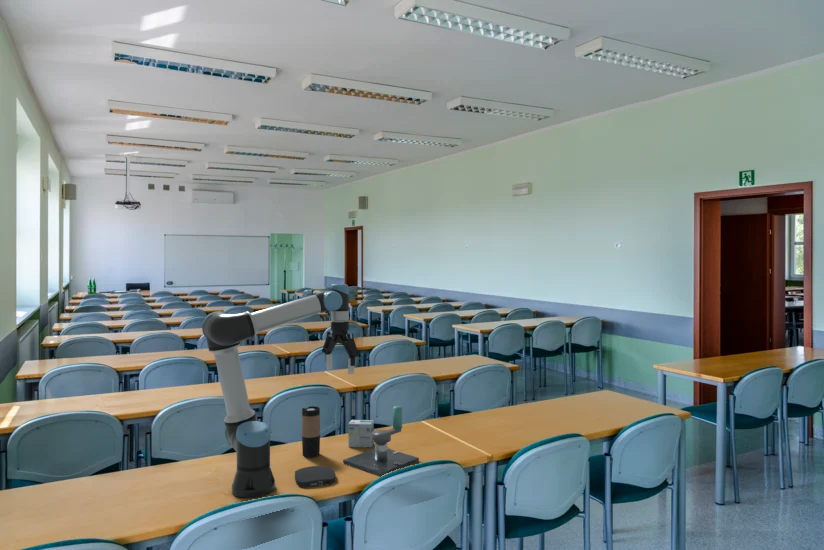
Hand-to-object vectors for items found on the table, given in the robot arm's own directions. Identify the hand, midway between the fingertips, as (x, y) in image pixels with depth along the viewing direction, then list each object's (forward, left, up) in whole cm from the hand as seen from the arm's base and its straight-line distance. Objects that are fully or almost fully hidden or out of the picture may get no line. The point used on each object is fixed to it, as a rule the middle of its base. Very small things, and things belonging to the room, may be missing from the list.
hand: (340, 371), depth 234 cm
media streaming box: (-21, -9, -37) cm, 44 cm away
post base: (+8, -16, -37) cm, 41 cm away
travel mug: (-5, +13, -37) cm, 39 cm away
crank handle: (+12, -16, -27) cm, 34 cm away
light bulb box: (+18, +6, -37) cm, 41 cm away
